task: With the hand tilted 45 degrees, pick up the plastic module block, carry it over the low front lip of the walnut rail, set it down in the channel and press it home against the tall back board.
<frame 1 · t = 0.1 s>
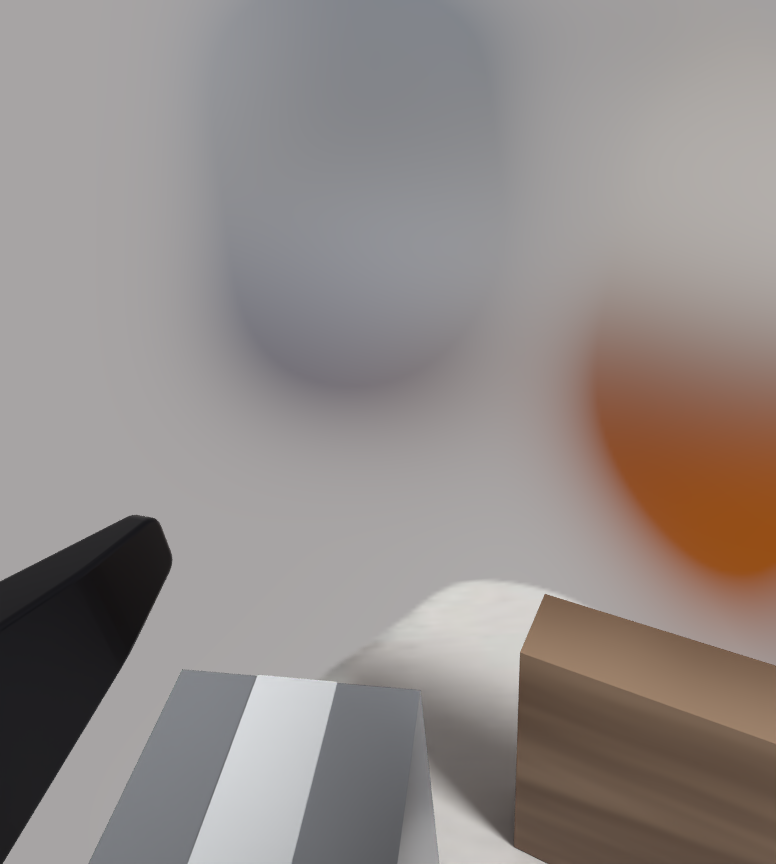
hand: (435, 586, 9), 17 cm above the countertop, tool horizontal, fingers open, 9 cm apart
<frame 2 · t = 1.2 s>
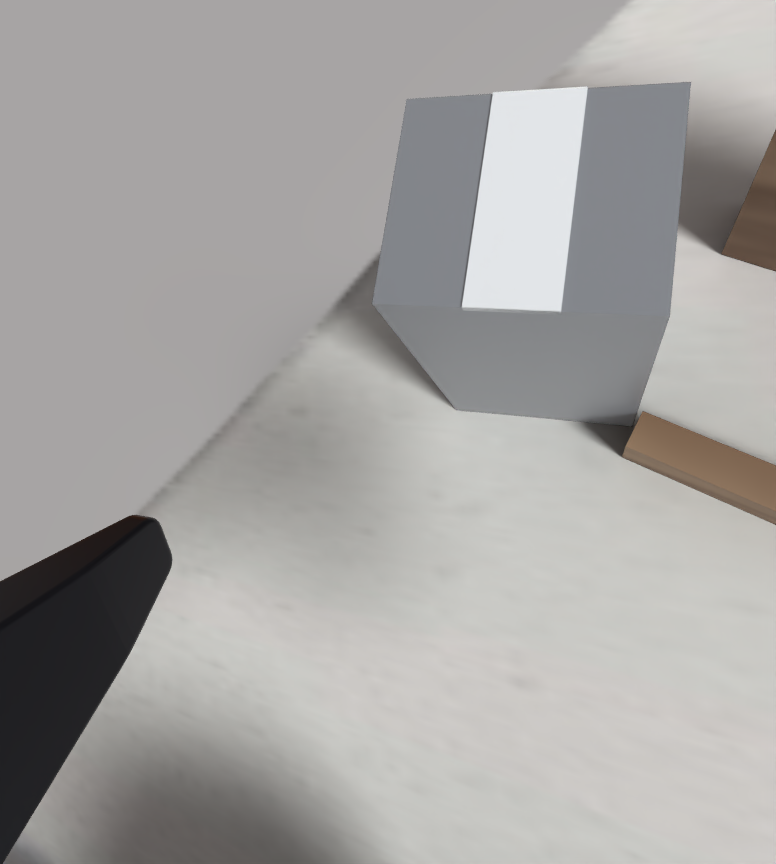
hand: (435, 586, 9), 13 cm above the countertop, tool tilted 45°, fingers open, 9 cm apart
module block: (549, 349, 23), on the countertop
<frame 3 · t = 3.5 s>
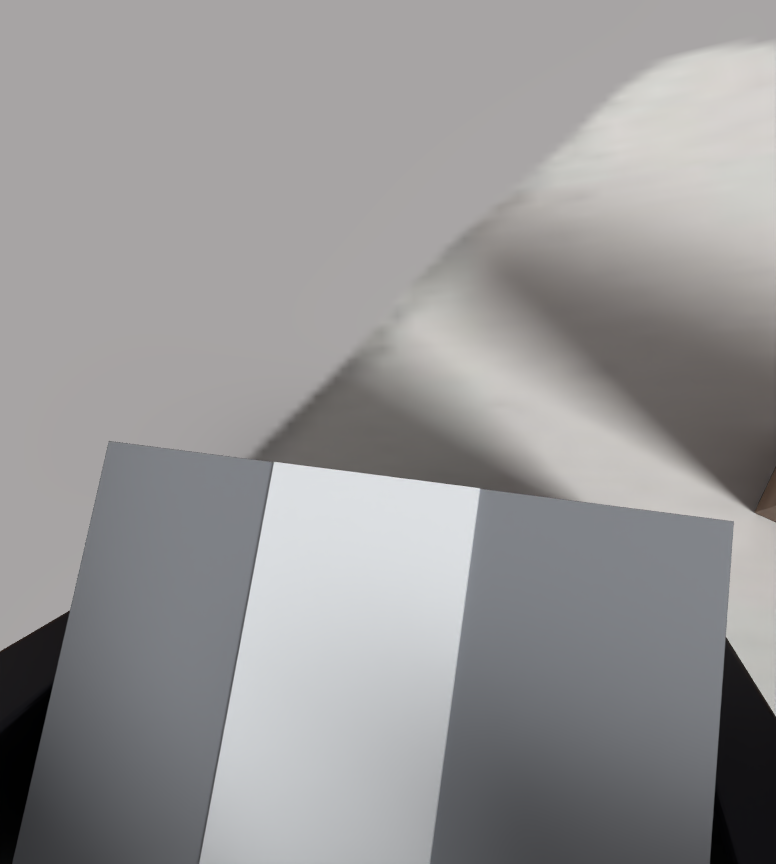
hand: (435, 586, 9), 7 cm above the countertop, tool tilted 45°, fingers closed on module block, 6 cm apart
module block: (487, 640, 15), on the countertop, touching gripper
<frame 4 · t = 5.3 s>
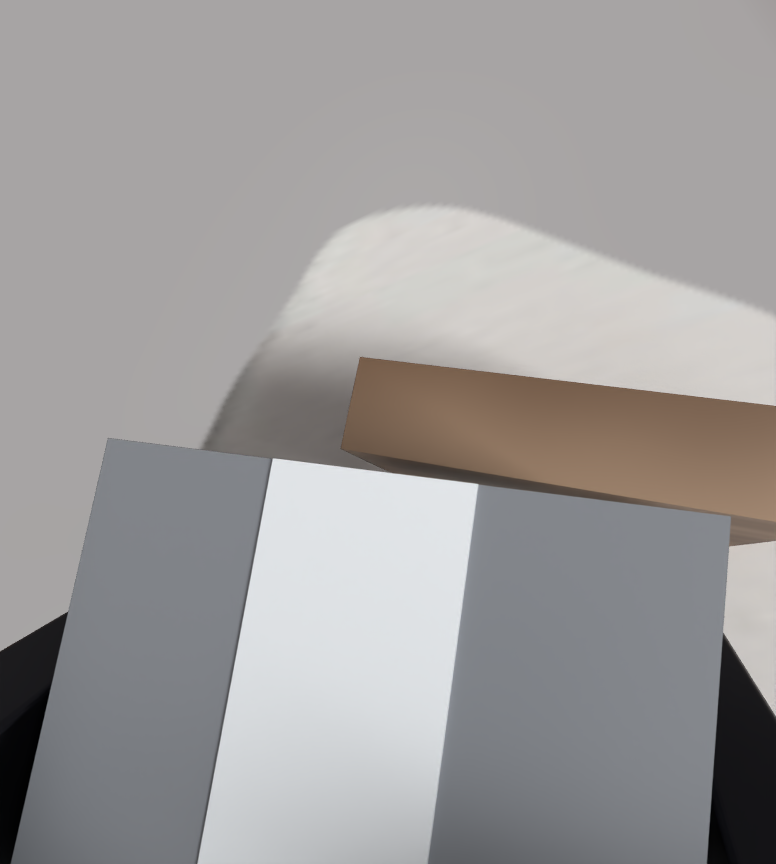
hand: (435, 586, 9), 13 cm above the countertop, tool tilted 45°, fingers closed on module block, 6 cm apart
module block: (487, 638, 15), point 7 cm above the countertop, touching gripper
walnut rail: (555, 619, 21), on the countertop
when the fingers open (7 cm above the countertop, at t = 7.0 s): module block stays where it is, on the countertop.
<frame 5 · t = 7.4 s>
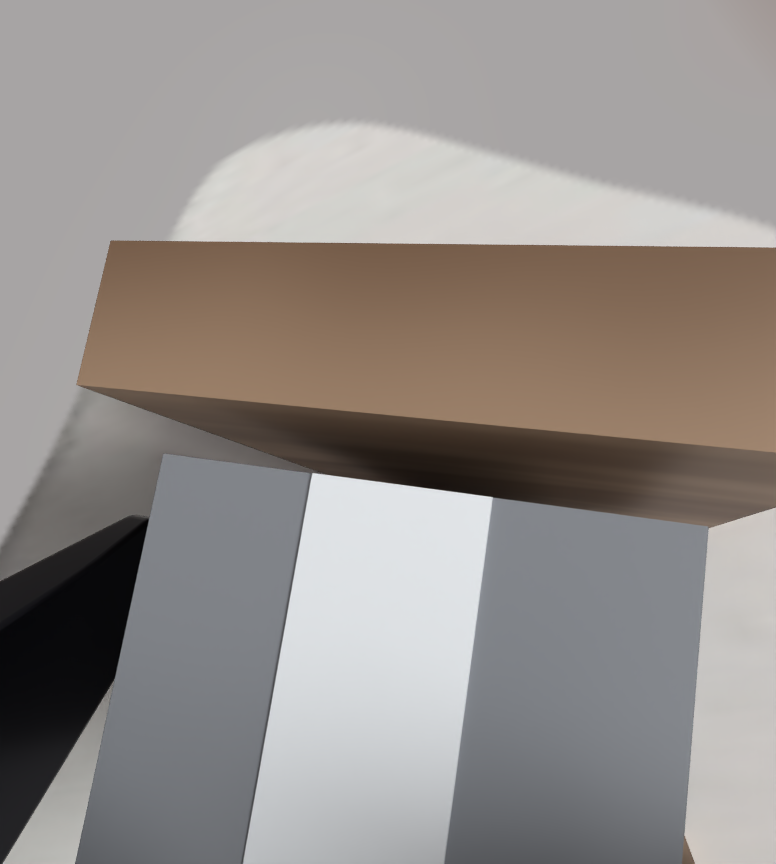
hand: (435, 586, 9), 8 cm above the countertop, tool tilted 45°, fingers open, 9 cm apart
module block: (492, 634, 16), on the countertop
walnut rail: (493, 634, 16), on the countertop
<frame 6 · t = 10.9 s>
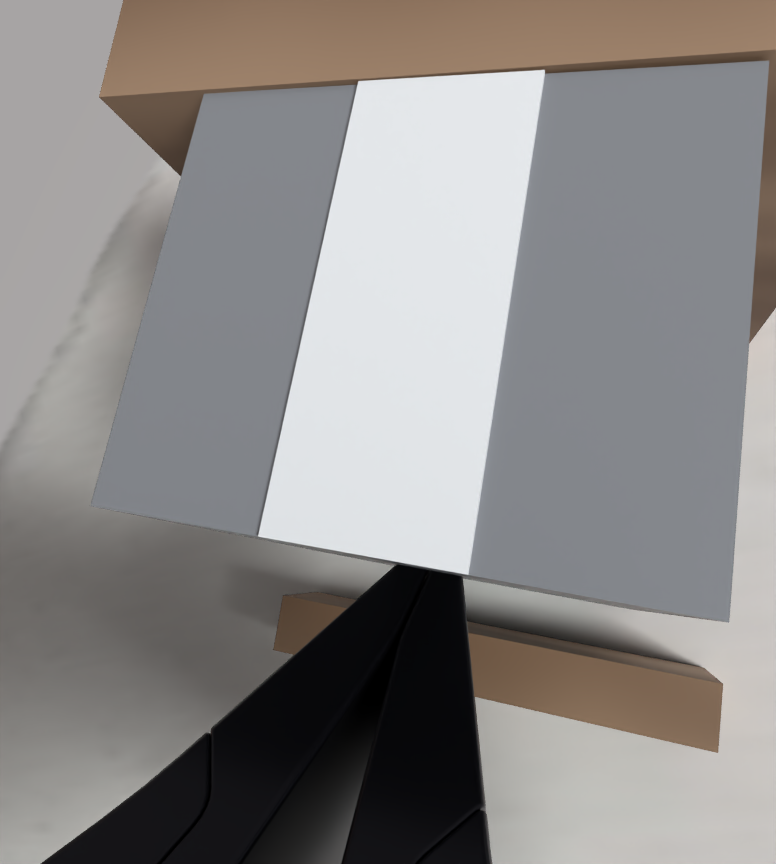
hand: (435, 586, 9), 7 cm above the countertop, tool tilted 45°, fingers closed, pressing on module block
module block: (509, 479, 16), on the countertop, touching gripper, walnut rail
walnut rail: (510, 488, 16), on the countertop
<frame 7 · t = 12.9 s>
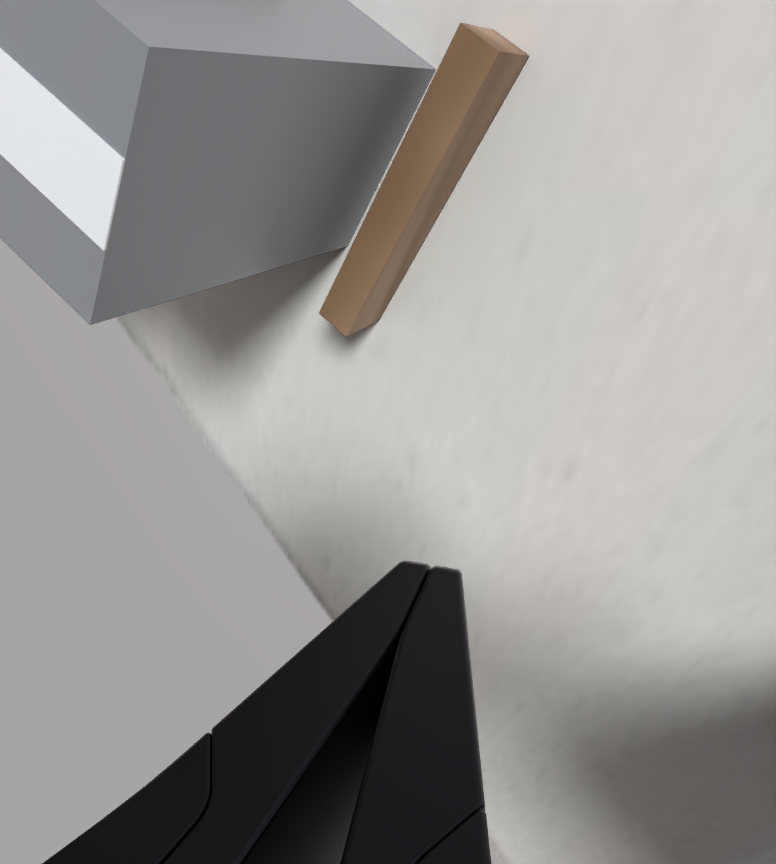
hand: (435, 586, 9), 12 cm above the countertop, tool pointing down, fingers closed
module block: (329, 117, 20), on the countertop
walnut rail: (335, 121, 20), on the countertop
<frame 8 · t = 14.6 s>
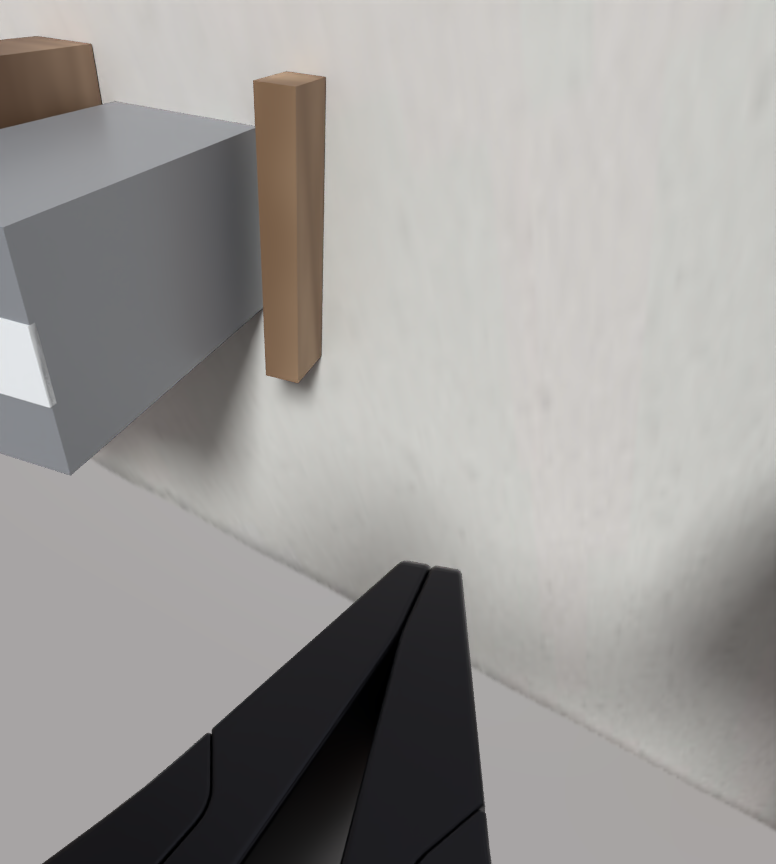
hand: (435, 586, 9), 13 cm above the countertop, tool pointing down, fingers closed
module block: (193, 210, 22), on the countertop
walnut rail: (200, 210, 22), on the countertop
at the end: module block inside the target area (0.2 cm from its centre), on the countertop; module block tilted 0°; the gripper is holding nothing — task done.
